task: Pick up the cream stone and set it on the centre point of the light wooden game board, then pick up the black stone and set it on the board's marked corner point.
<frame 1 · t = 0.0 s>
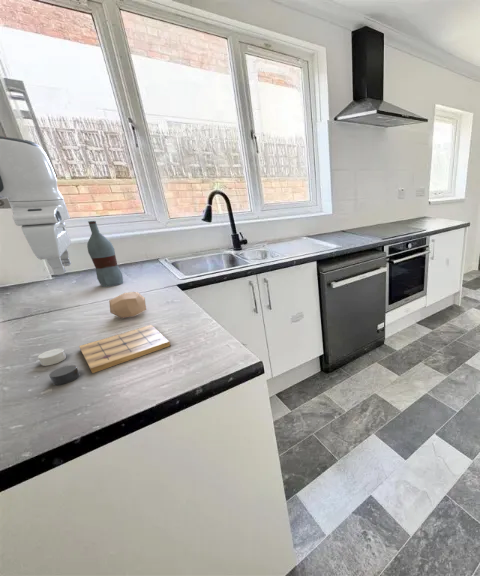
hand: (63, 269, 77), 27 cm above the countertop, tool pointing down, fingers open, 8 cm apart
bottle: (112, 284, 149), on the countertop
board: (126, 348, 92), on the countertop
cream stone: (54, 360, 86), on the countertop
black stone: (66, 378, 78), on the countertop
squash: (131, 312, 118), on the countertop
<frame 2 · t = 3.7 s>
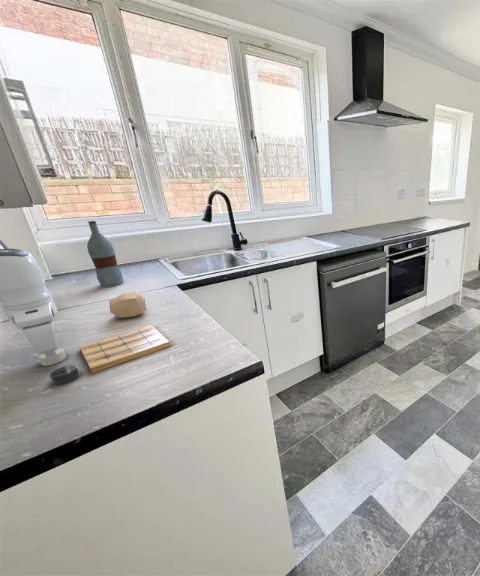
hand: (51, 355, 86), 2 cm above the countertop, tool pointing down, fingers closed on cream stone, 5 cm apart
cream stone: (54, 360, 86), on the countertop, touching gripper
everything else where it was.
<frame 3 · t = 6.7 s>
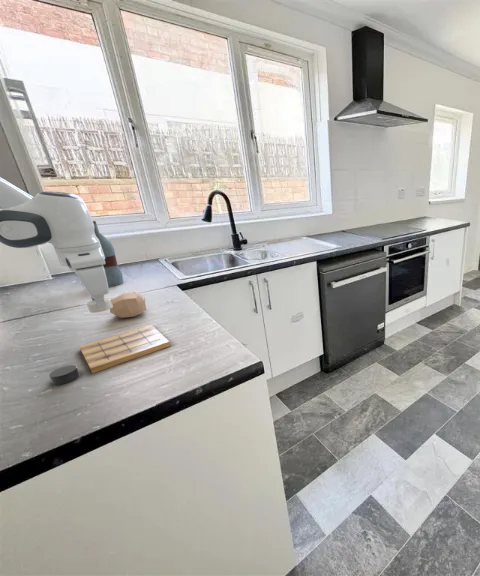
hand: (99, 303, 86), 15 cm above the countertop, tool pointing down, fingers closed on cream stone, 5 cm apart
cream stone: (101, 309, 87), point 13 cm above the countertop, touching gripper
everything else where it was.
when the fingers open (3 cm above the countertop, at t = 9.8 s): cream stone stays where it is, resting on board.
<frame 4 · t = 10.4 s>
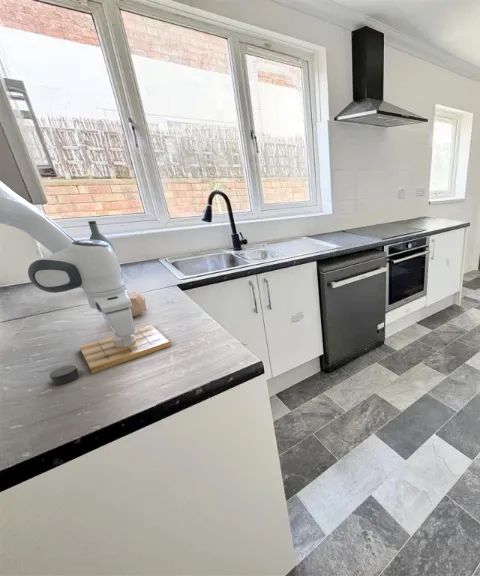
hand: (123, 340, 92), 3 cm above the countertop, tool pointing down, fingers open, 8 cm apart
cream stone: (125, 343, 92), point 2 cm above the countertop, touching board
everything else where it was.
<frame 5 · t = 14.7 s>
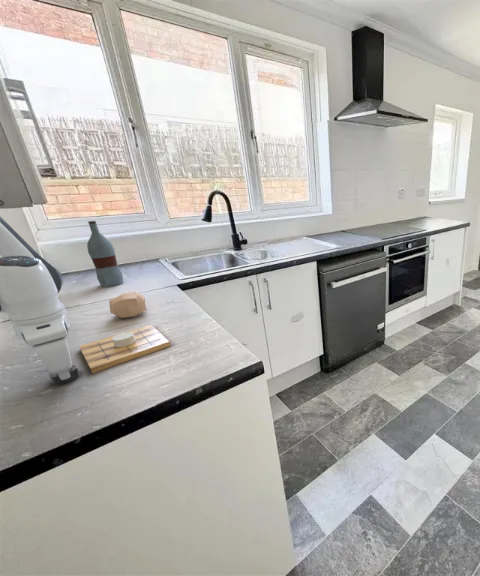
hand: (64, 373, 78), 2 cm above the countertop, tool pointing down, fingers closed on black stone, 5 cm apart
black stone: (66, 378, 78), on the countertop, touching gripper
everything else where it was.
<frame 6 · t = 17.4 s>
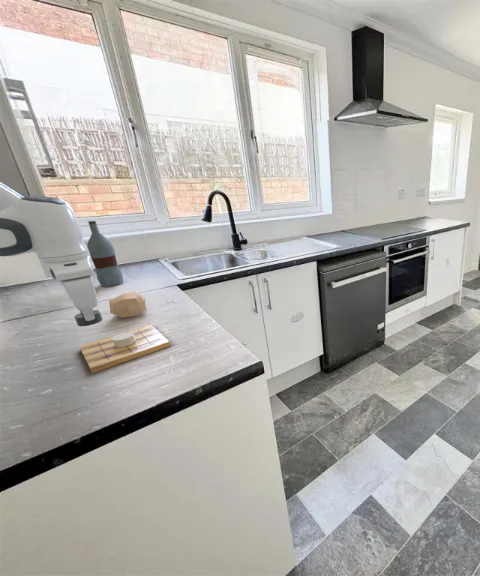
hand: (88, 316, 80), 14 cm above the countertop, tool pointing down, fingers closed on black stone, 5 cm apart
black stone: (90, 322, 81), point 12 cm above the countertop, touching gripper
everything else where it was.
when the fingers open (3 cm above the countertop, at t = 20.1 s): black stone stays where it is, resting on board.
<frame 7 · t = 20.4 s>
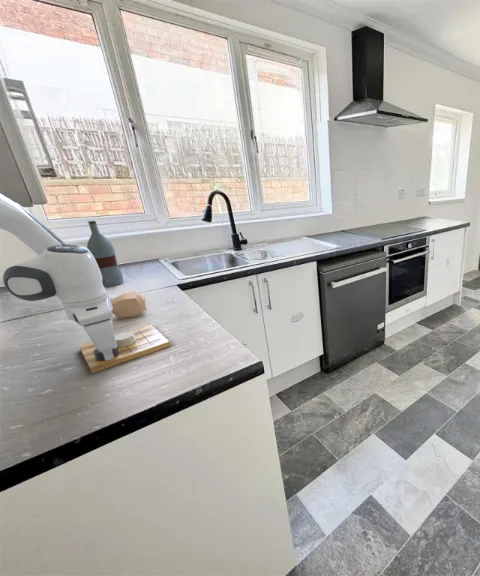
hand: (105, 353, 85), 3 cm above the countertop, tool pointing down, fingers open, 7 cm apart
black stone: (107, 356, 85), point 2 cm above the countertop, touching board
everything else where it was.
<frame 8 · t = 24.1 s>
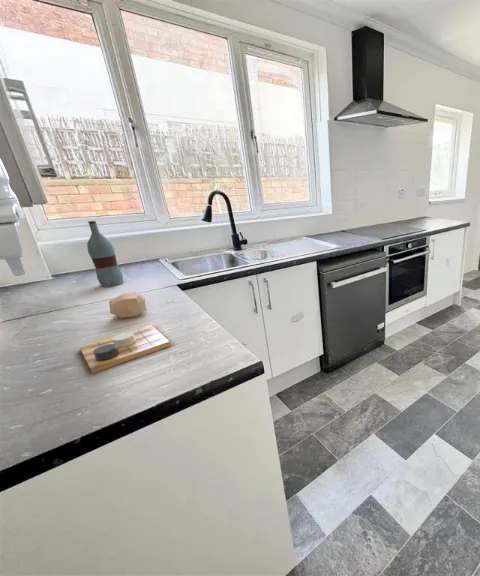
hand: (18, 271, 74), 27 cm above the countertop, tool pointing down, fingers open, 8 cm apart
nothing on the countertop moved.
at the end: cream stone 0.2 cm off-centre on the board, point 1.6 cm above the board's base; black stone 0.2 cm from the target spot on the board, point 1.6 cm above the board's base; black stone tilted 0° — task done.
